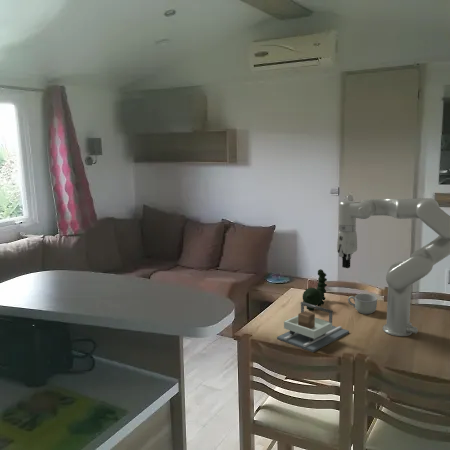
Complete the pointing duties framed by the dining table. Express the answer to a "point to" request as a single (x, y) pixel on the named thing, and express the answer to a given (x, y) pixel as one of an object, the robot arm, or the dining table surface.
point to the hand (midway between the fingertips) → (346, 267)
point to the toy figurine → (316, 292)
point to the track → (317, 343)
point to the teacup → (364, 303)
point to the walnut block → (306, 319)
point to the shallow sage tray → (314, 332)
